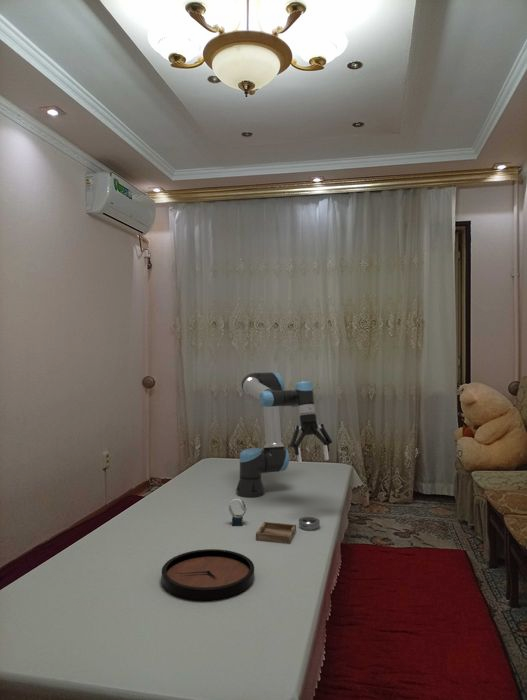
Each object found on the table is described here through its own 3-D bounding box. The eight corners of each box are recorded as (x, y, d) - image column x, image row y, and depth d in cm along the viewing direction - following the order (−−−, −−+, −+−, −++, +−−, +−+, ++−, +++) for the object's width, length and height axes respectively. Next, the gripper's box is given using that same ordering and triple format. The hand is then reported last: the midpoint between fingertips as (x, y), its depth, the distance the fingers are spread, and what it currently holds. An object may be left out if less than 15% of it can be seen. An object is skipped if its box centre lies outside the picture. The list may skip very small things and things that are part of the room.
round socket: (303, 522, 231) (303, 515, 231) (322, 525, 227) (322, 518, 227) (295, 528, 223) (295, 521, 223) (315, 532, 219) (315, 525, 219)
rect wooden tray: (264, 528, 223) (264, 521, 223) (296, 531, 220) (296, 524, 220) (255, 540, 210) (255, 533, 210) (289, 543, 206) (289, 536, 206)
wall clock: (267, 556, 185) (232, 596, 156) (267, 567, 185) (232, 610, 156) (189, 544, 196) (143, 579, 166) (189, 554, 196) (143, 592, 166)
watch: (246, 526, 226) (246, 501, 225) (228, 526, 226) (228, 501, 226) (247, 521, 231) (247, 497, 231) (229, 521, 231) (229, 497, 231)
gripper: (285, 415, 231) (291, 463, 226) (335, 411, 240) (341, 458, 235) (279, 417, 238) (285, 464, 233) (328, 414, 247) (334, 459, 241)
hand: (313, 461), depth 234 cm, fingers open, 13 cm apart
